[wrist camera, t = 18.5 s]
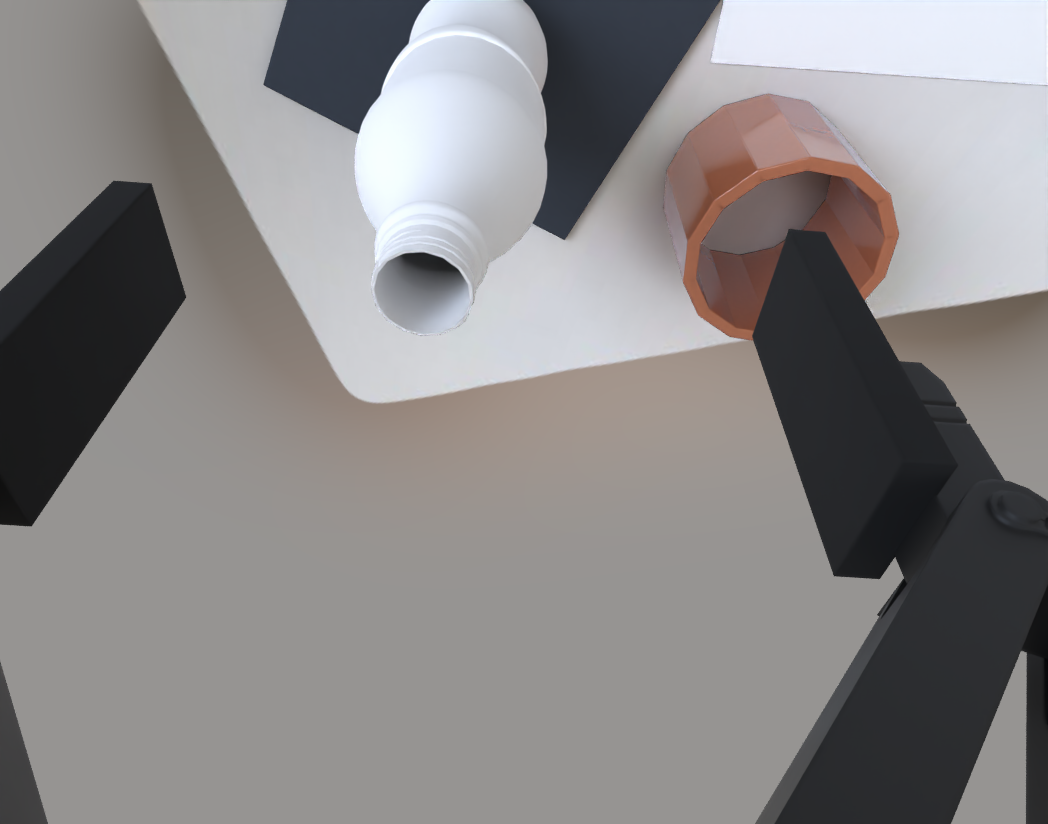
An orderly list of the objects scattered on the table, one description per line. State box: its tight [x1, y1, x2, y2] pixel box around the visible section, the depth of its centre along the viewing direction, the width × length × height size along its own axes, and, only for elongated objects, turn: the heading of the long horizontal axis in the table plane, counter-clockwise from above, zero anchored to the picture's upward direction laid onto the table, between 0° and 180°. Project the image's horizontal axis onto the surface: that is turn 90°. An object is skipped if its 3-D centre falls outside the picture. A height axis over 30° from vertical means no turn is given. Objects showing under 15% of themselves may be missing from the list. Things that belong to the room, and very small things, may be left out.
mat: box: [264, 0, 720, 240], centre depth 39 cm, size 20×16×1 cm
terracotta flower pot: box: [663, 94, 899, 340], centre depth 41 cm, size 11×11×9 cm
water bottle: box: [355, 0, 548, 336], centre depth 30 cm, size 7×7×25 cm
